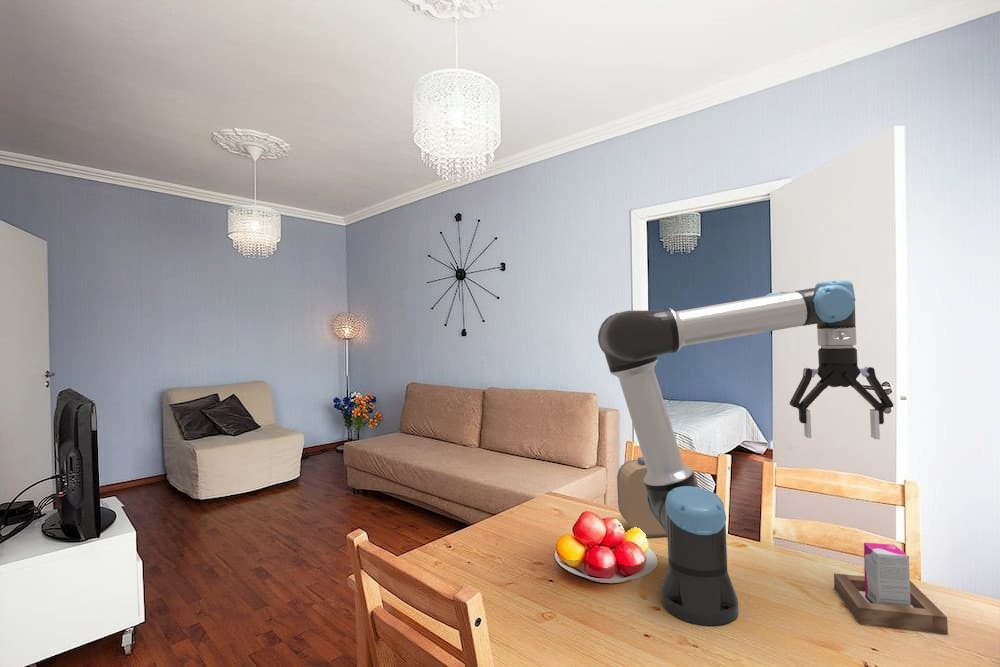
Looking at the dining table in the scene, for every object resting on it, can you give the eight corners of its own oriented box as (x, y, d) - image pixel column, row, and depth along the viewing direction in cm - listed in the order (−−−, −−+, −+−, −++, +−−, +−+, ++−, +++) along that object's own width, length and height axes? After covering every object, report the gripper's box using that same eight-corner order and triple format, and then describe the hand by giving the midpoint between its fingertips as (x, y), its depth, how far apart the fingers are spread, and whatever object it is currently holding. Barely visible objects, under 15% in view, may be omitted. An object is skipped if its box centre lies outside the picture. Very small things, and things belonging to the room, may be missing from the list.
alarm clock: (685, 522, 149) (682, 451, 149) (699, 535, 139) (696, 459, 140) (618, 527, 148) (615, 455, 148) (628, 540, 138) (625, 463, 138)
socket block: (859, 624, 95) (858, 607, 95) (834, 587, 109) (833, 573, 109) (947, 634, 91) (947, 617, 91) (910, 595, 104) (909, 580, 105)
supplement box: (912, 614, 96) (910, 555, 96) (877, 611, 98) (875, 553, 98) (896, 598, 102) (894, 543, 102) (864, 596, 103) (861, 541, 103)
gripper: (781, 349, 115) (785, 439, 115) (908, 345, 108) (913, 442, 108) (773, 348, 122) (777, 433, 122) (893, 344, 115) (897, 435, 115)
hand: (841, 437), depth 115 cm, fingers open, 13 cm apart
